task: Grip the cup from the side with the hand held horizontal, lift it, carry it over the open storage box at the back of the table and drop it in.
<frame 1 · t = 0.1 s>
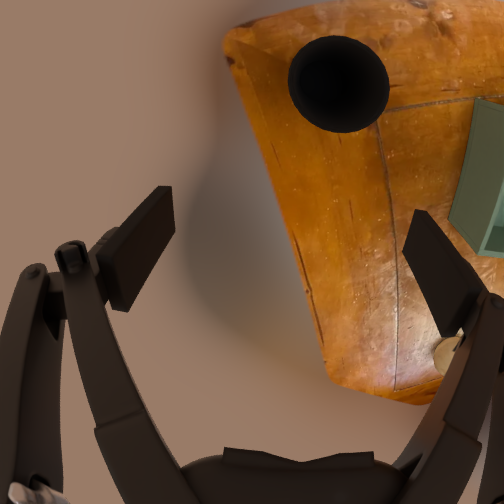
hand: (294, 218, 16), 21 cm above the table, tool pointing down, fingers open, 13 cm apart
cup: (321, 81, 29), on the table
apple: (446, 343, 49), on the table
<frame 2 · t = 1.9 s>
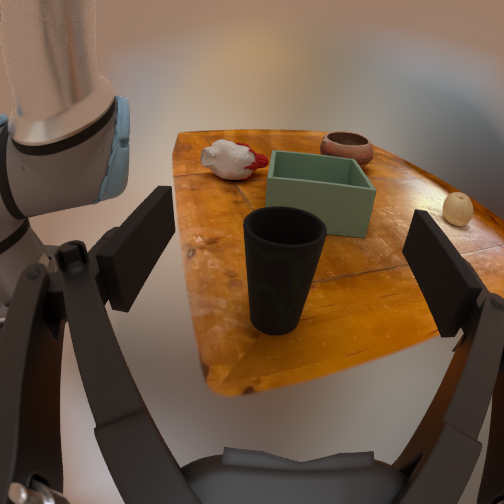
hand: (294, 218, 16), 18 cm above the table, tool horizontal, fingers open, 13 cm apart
cup: (274, 318, 34), on the table
bowl: (344, 167, 84), on the table
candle: (237, 177, 72), on the table
apple: (453, 222, 59), on the table
open storage box: (312, 210, 58), on the table
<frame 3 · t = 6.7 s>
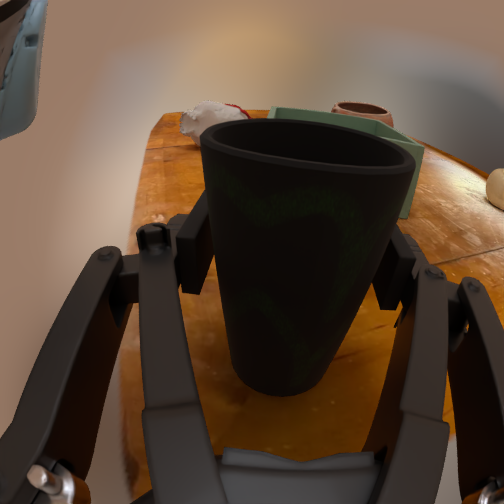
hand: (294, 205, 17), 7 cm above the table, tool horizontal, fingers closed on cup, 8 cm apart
cup: (279, 357, 17), on the table, touching gripper
bowl: (358, 143, 67), on the table
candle: (226, 149, 54), on the table
apple: (498, 206, 41), on the table
open storage box: (328, 183, 40), on the table
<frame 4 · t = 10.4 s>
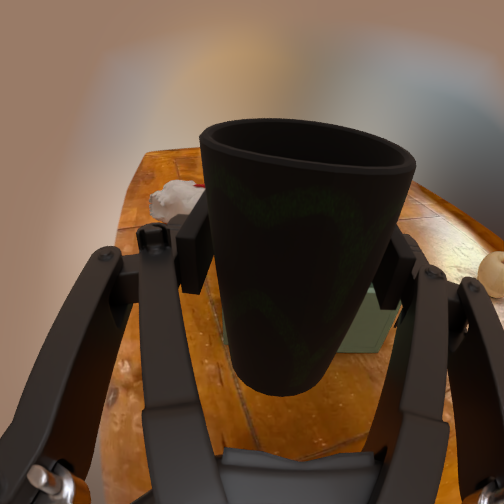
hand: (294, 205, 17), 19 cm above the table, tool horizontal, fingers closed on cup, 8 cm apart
cup: (279, 357, 17), point 12 cm above the table, touching gripper
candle: (199, 232, 53), on the table
apple: (488, 290, 41), on the table
open storage box: (301, 298, 39), on the table
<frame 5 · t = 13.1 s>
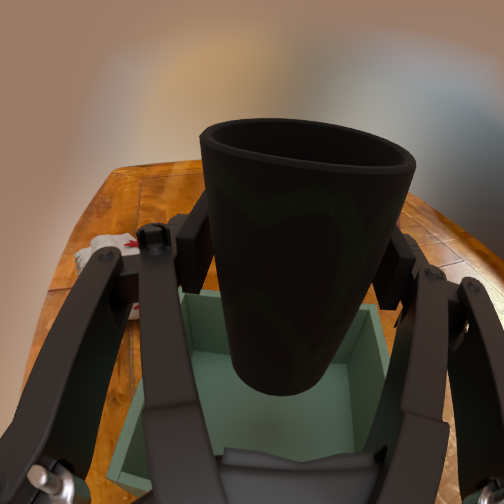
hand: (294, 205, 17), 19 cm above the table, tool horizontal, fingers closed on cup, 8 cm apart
cup: (279, 357, 17), point 12 cm above the table, touching gripper
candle: (140, 302, 37), on the table
open storage box: (263, 433, 24), on the table
when the fingers open (16 cm above the table, at t = 14.5 s): cup drops 7 cm, resting on open storage box.
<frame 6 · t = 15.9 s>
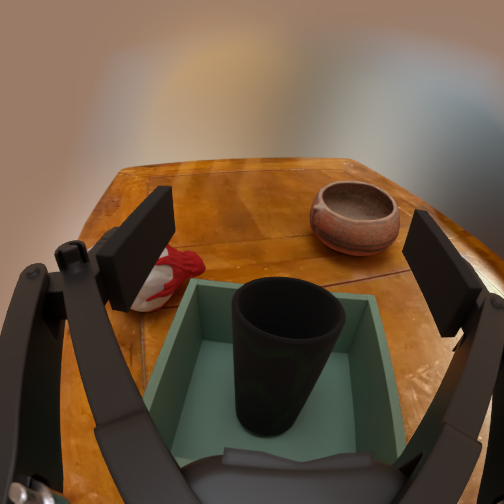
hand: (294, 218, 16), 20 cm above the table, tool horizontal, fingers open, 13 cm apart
cup: (266, 412, 25), point 1 cm above the table, touching open storage box
bowl: (349, 245, 52), on the table
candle: (151, 296, 39), on the table
open storage box: (269, 417, 26), on the table
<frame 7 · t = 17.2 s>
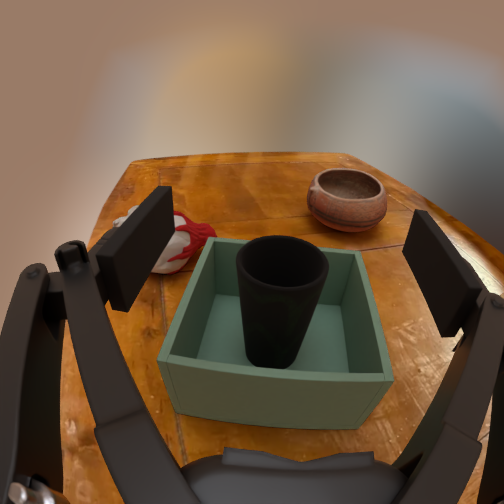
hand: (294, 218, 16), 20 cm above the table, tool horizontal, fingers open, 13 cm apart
cup: (271, 351, 31), point 1 cm above the table, touching open storage box
bowl: (342, 224, 59), on the table
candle: (168, 263, 46), on the table
open storage box: (274, 355, 32), on the table
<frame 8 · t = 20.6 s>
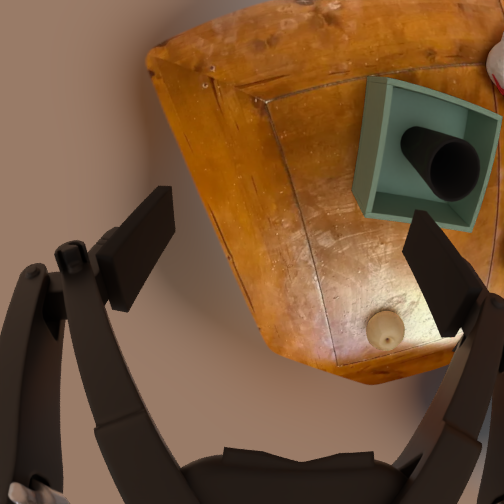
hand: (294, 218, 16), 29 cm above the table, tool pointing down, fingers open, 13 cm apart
cup: (416, 144, 37), point 1 cm above the table, touching open storage box
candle: (501, 71, 28), on the table
apple: (382, 318, 57), on the table
open storage box: (414, 145, 38), on the table
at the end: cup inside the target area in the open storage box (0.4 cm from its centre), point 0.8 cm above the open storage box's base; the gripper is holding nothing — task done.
